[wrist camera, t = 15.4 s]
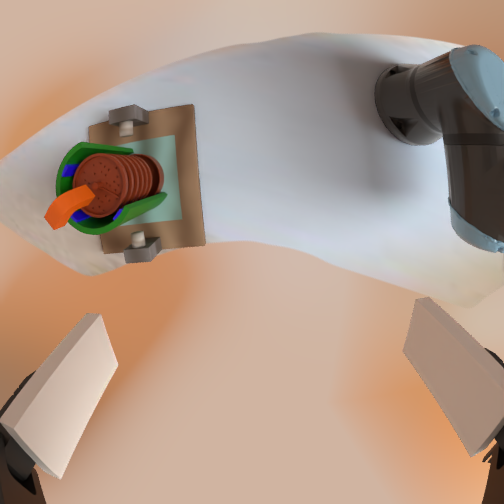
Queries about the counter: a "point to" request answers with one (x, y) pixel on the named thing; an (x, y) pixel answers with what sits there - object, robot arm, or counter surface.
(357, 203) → the counter surface
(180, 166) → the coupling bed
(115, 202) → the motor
